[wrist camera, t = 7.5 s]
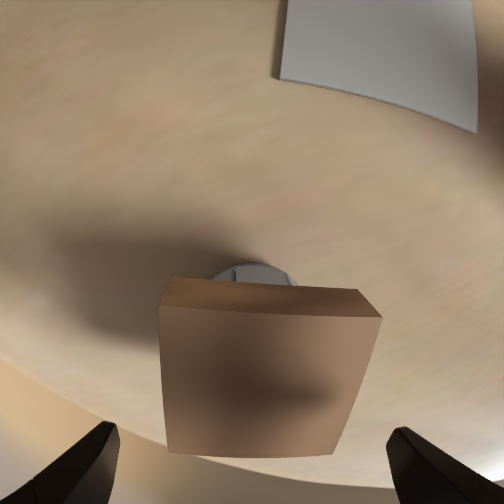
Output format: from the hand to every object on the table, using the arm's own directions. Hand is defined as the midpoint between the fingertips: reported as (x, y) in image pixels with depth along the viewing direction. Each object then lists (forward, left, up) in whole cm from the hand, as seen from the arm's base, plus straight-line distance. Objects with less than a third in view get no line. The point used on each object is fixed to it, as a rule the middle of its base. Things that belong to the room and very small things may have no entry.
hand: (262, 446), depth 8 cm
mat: (-6, -17, -9) cm, 20 cm away
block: (0, 0, -4) cm, 4 cm away
